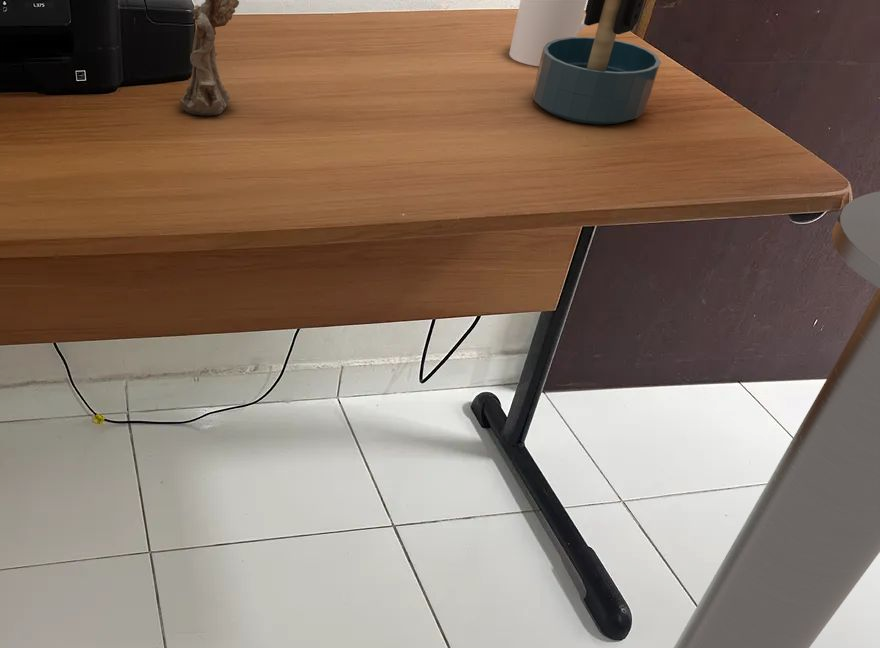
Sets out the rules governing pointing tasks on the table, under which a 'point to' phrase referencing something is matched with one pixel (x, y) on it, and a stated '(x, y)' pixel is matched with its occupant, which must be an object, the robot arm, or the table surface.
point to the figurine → (207, 60)
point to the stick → (604, 36)
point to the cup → (544, 26)
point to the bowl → (594, 81)
